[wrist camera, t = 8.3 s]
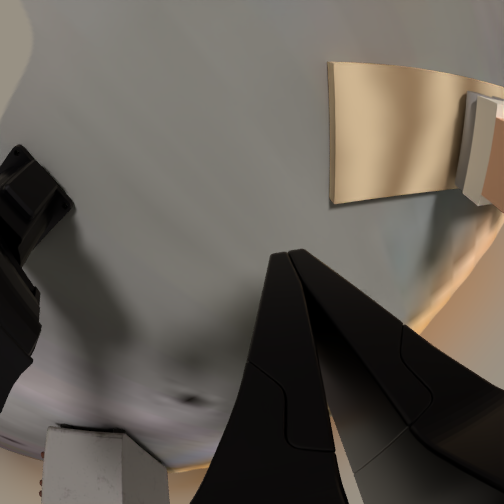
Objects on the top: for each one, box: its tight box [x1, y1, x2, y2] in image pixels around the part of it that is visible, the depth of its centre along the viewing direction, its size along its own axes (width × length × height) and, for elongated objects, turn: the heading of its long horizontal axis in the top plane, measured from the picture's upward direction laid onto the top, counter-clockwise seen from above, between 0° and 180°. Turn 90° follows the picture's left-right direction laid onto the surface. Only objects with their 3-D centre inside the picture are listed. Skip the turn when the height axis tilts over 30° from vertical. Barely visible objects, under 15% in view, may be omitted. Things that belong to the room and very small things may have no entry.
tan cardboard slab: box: [327, 62, 504, 204], centre depth 17 cm, size 23×10×6 cm, turn 96°
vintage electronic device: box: [39, 424, 170, 504], centre depth 41 cm, size 32×18×25 cm, turn 0°
